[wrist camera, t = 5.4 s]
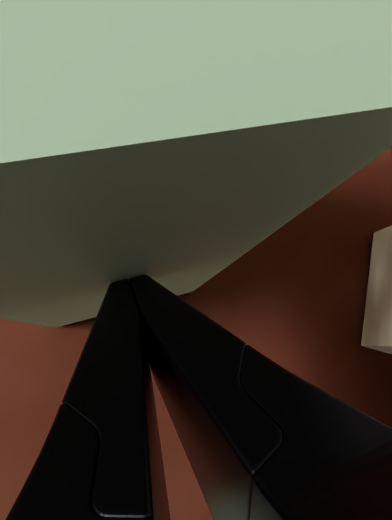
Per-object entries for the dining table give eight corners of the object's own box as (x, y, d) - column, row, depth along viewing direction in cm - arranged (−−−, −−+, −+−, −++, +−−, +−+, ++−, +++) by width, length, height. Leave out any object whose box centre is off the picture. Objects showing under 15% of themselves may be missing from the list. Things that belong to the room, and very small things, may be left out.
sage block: (192, 291, 16) (460, 97, 3) (54, 327, 14) (-482, 232, 2) (159, 171, 17) (261, -335, 4) (27, 194, 15) (-433, -491, 3)
